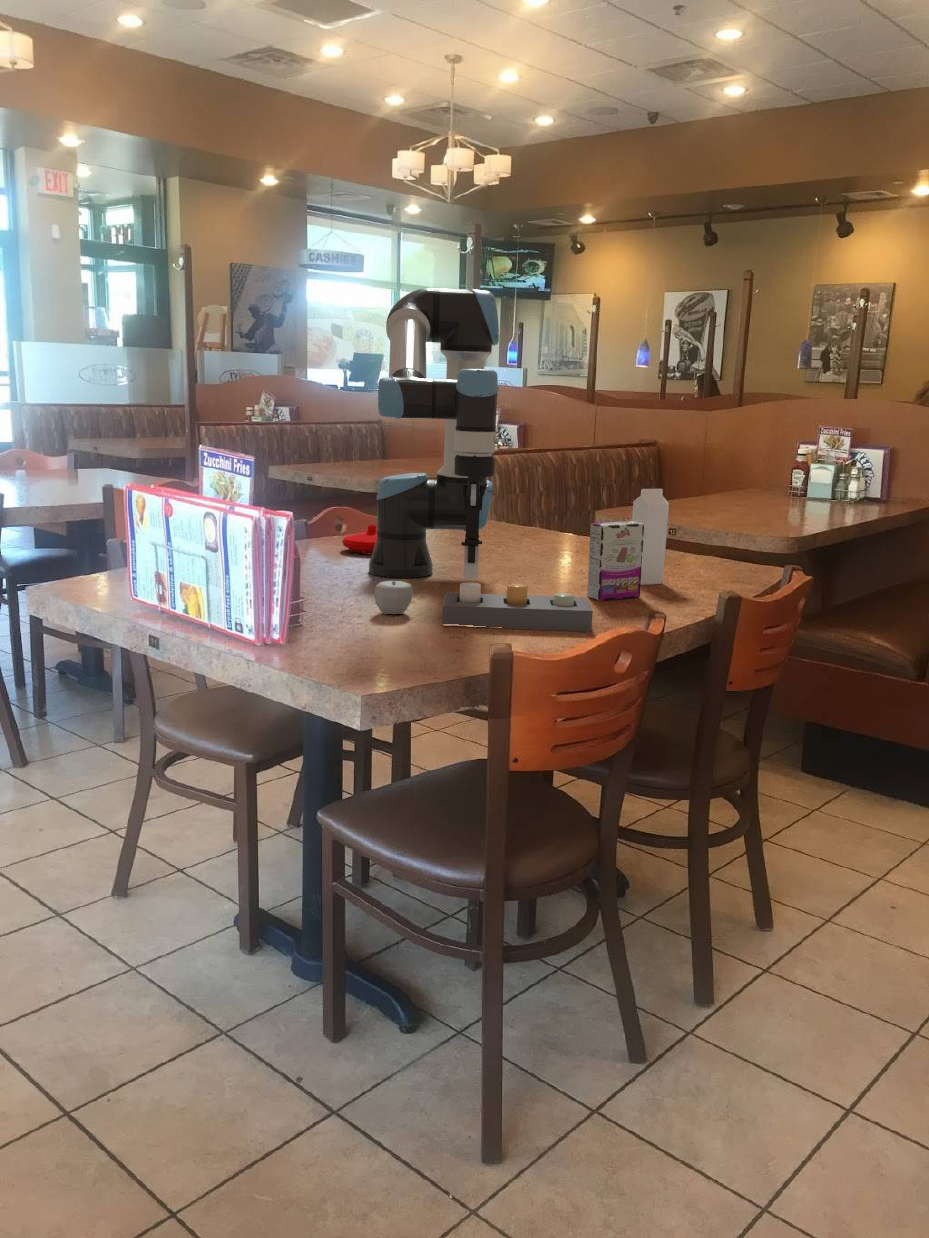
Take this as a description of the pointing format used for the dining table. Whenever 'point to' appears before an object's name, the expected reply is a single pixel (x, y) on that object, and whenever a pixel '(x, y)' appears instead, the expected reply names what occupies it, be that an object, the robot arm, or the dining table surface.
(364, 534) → the red disc with nozzle
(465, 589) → the button ivory
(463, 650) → the dining table surface
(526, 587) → the button amber
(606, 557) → the candy bar box
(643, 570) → the milk
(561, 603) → the button sage
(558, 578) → the dining table surface
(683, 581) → the dining table surface
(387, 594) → the apple
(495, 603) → the block
